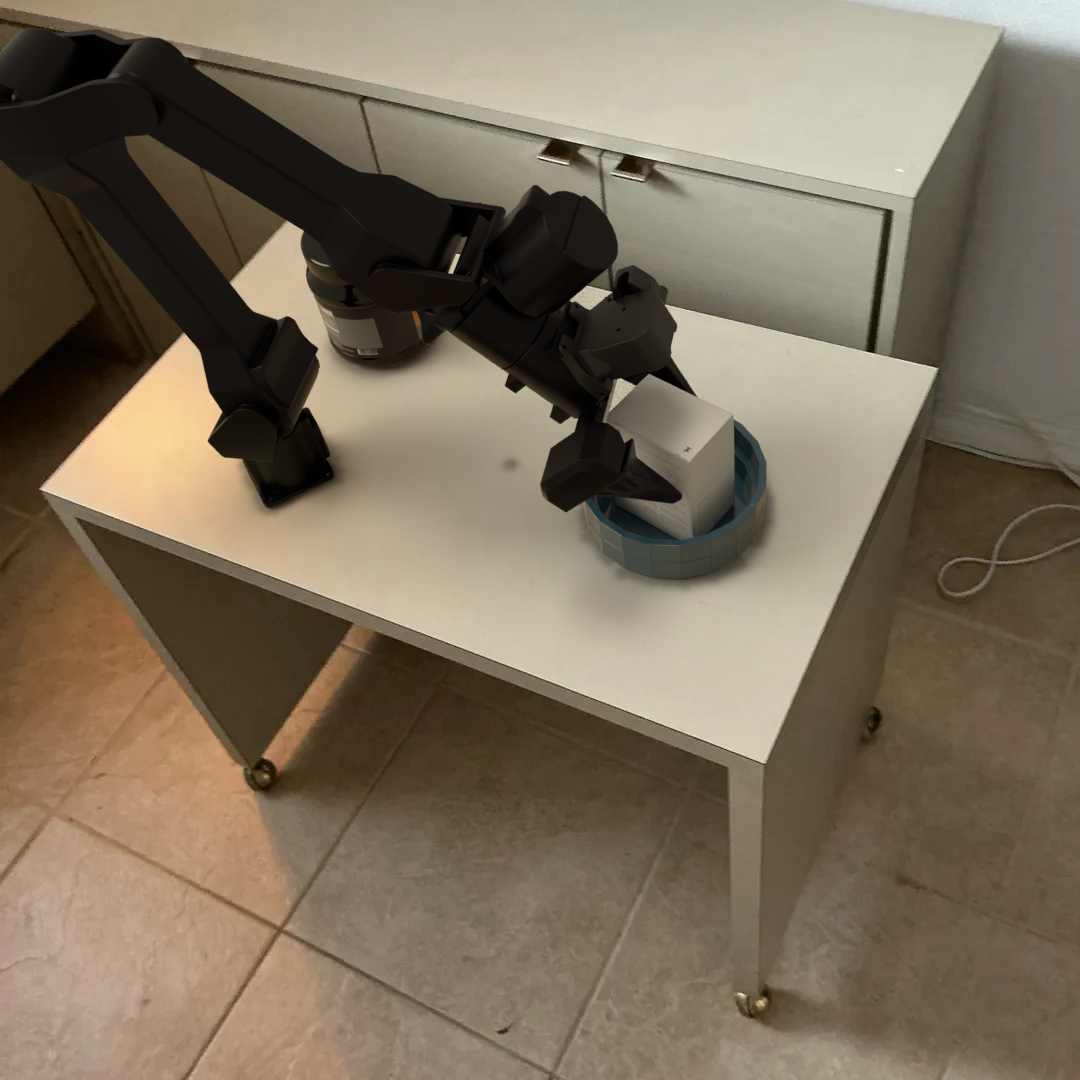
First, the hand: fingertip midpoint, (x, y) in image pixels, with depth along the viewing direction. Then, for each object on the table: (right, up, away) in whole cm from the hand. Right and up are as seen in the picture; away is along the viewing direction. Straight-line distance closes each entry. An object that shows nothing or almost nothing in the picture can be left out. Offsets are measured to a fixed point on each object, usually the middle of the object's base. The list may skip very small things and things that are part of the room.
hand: (687, 452), depth 84 cm
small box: (0, -4, +6) cm, 7 cm away
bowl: (0, -4, +6) cm, 7 cm away
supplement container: (-26, +13, +23) cm, 37 cm away
